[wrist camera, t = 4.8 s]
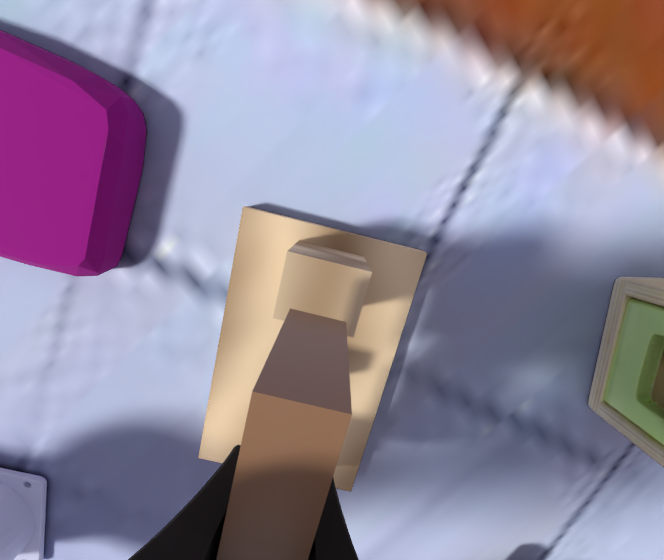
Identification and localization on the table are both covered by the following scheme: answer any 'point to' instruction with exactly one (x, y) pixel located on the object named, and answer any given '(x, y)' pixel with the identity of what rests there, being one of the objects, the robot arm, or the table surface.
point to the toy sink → (633, 364)
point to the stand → (316, 298)
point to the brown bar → (290, 442)
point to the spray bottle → (65, 162)
